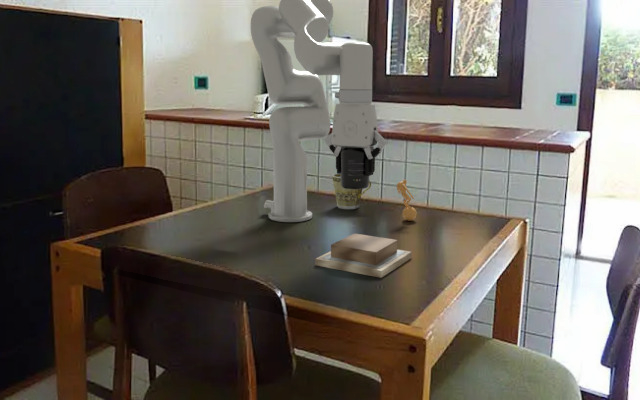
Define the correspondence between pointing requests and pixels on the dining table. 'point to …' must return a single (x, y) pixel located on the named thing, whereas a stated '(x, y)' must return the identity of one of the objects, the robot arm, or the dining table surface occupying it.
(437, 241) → the dining table surface
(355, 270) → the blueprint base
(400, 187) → the figurine
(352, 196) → the ceramic cup
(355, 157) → the supplement bottle
